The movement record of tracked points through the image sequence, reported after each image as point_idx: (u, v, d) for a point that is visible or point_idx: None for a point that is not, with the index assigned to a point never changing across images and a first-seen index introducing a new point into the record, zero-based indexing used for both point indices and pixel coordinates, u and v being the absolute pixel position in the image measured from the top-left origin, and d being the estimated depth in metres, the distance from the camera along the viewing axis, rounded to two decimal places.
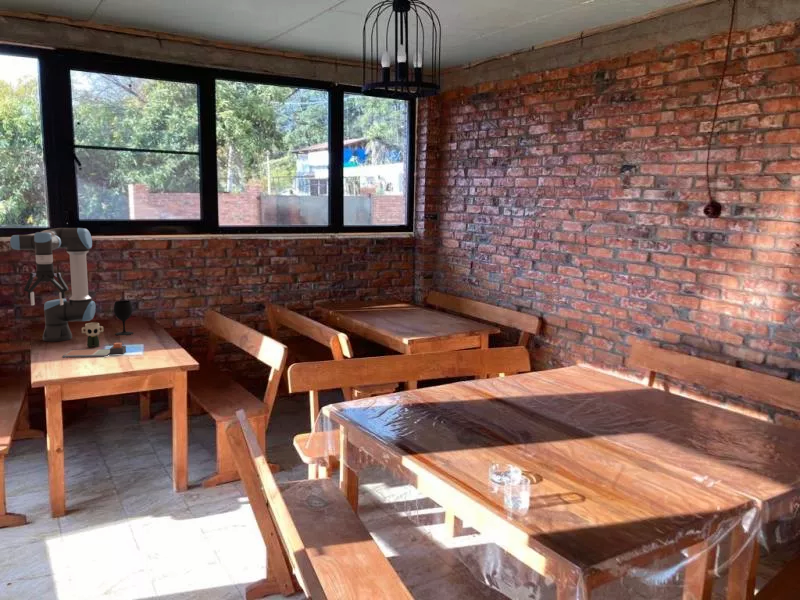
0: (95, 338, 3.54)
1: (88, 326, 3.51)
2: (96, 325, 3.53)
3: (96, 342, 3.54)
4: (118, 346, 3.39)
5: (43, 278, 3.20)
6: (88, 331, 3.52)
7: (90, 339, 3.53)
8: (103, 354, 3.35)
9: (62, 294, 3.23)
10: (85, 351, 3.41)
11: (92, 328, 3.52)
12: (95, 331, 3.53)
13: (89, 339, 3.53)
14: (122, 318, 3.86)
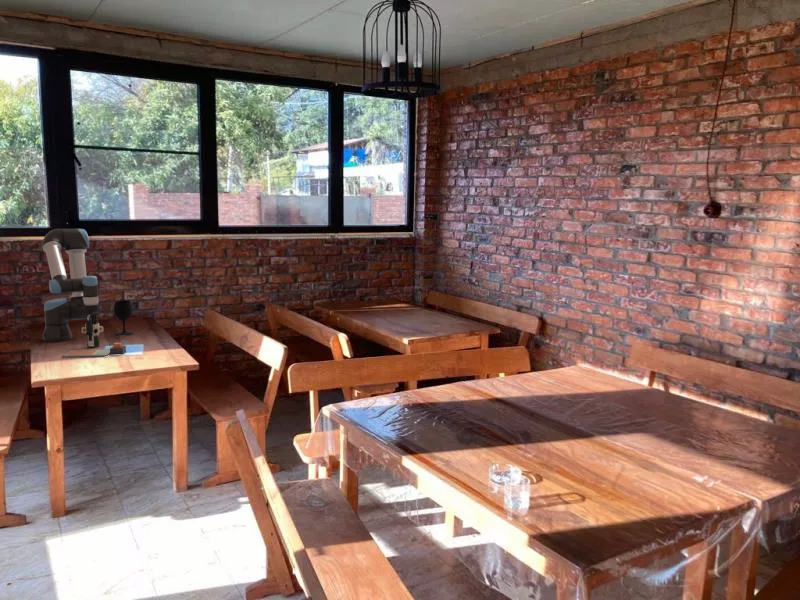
0: (95, 338, 3.54)
1: None
2: (96, 325, 3.53)
3: (96, 342, 3.54)
4: (118, 346, 3.39)
5: None
6: None
7: None
8: (103, 354, 3.35)
9: None
10: (85, 351, 3.41)
11: None
12: (95, 331, 3.53)
13: None
14: (122, 318, 3.86)
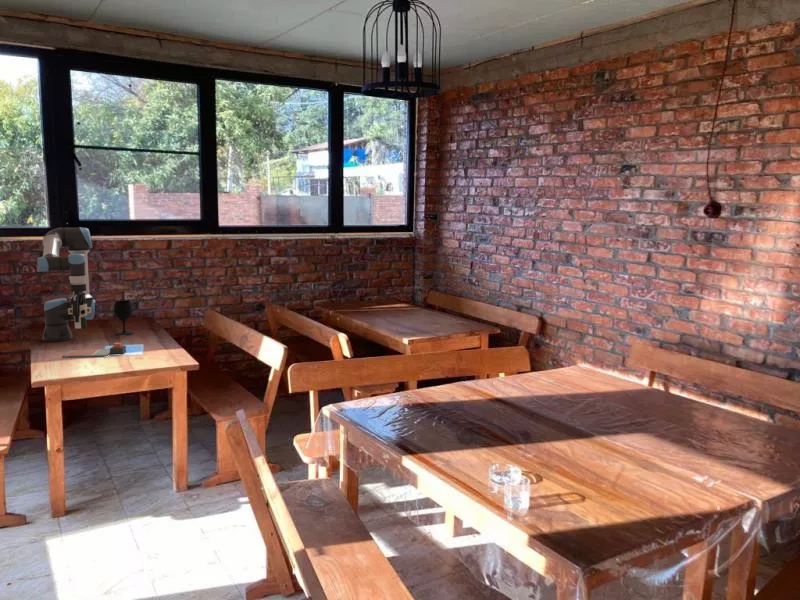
0: (82, 320, 3.34)
1: None
2: (83, 306, 3.33)
3: (83, 324, 3.35)
4: (118, 346, 3.39)
5: None
6: None
7: None
8: (103, 354, 3.35)
9: None
10: (85, 351, 3.41)
11: None
12: (82, 312, 3.33)
13: None
14: (122, 318, 3.86)
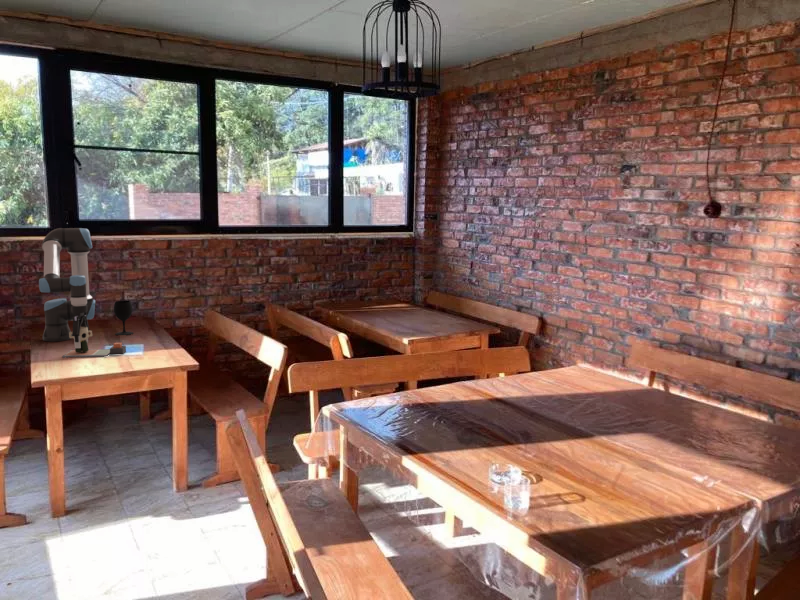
0: (83, 343, 3.37)
1: None
2: (84, 329, 3.35)
3: (85, 347, 3.37)
4: (118, 346, 3.39)
5: None
6: None
7: None
8: (103, 354, 3.35)
9: None
10: None
11: (80, 332, 3.34)
12: (83, 336, 3.36)
13: None
14: (122, 318, 3.86)
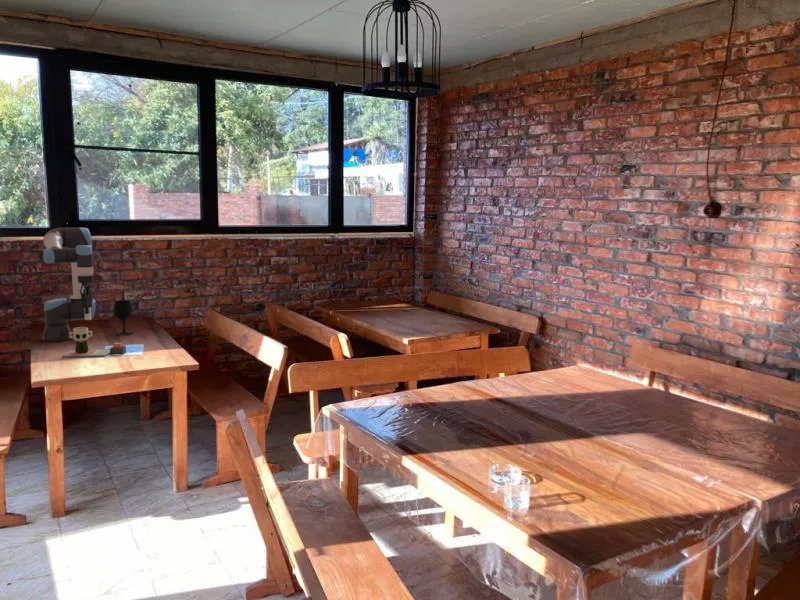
0: (84, 343, 3.36)
1: (76, 331, 3.33)
2: (85, 330, 3.35)
3: (85, 348, 3.37)
4: (118, 346, 3.39)
5: None
6: (76, 336, 3.34)
7: (78, 344, 3.35)
8: (103, 354, 3.35)
9: None
10: None
11: (80, 333, 3.34)
12: (84, 336, 3.35)
13: (77, 344, 3.35)
14: (122, 318, 3.86)
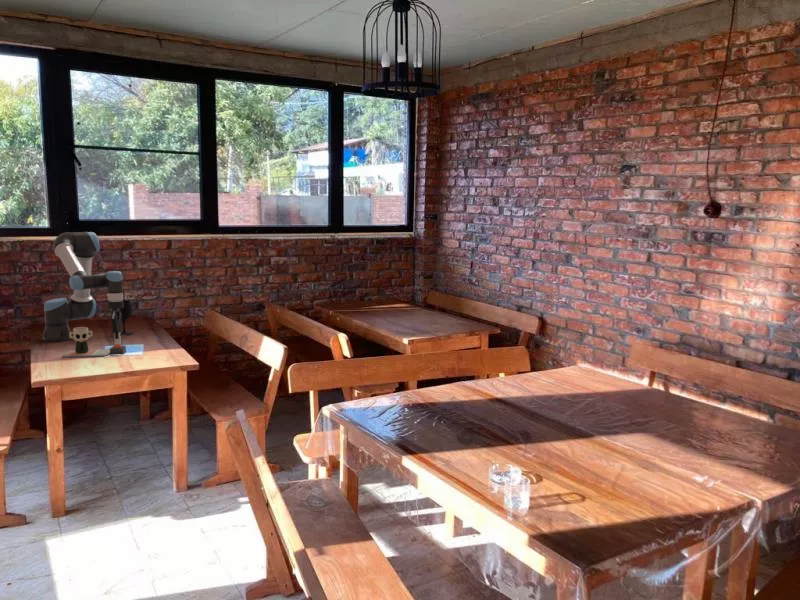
0: (84, 343, 3.36)
1: (76, 331, 3.33)
2: (85, 330, 3.35)
3: (85, 348, 3.37)
4: (118, 347, 3.40)
5: None
6: (76, 336, 3.34)
7: (78, 344, 3.35)
8: (103, 354, 3.35)
9: None
10: None
11: (80, 333, 3.34)
12: (84, 336, 3.35)
13: (77, 344, 3.35)
14: (122, 318, 3.86)
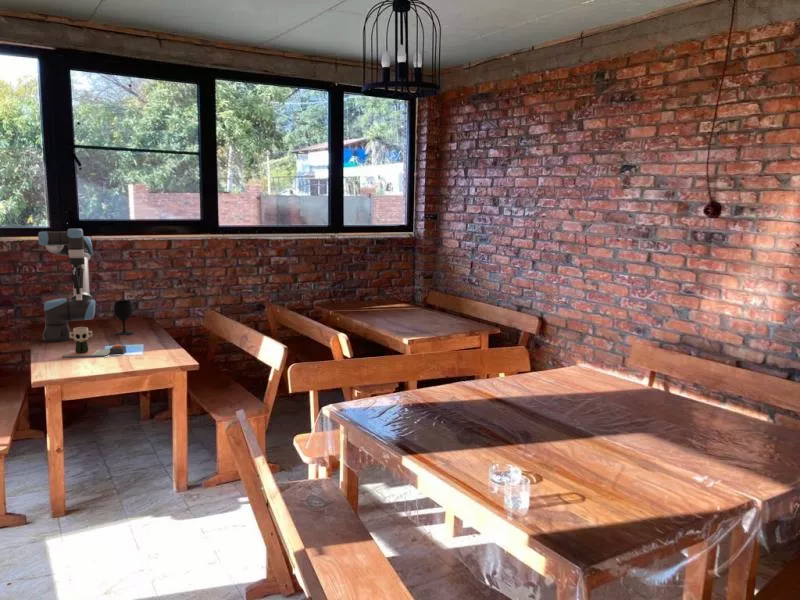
0: (84, 343, 3.36)
1: (76, 331, 3.33)
2: (85, 330, 3.35)
3: (85, 348, 3.37)
4: None
5: None
6: (76, 336, 3.34)
7: (78, 344, 3.35)
8: (103, 354, 3.35)
9: None
10: None
11: (80, 333, 3.34)
12: (84, 336, 3.35)
13: (77, 344, 3.35)
14: (122, 318, 3.86)
